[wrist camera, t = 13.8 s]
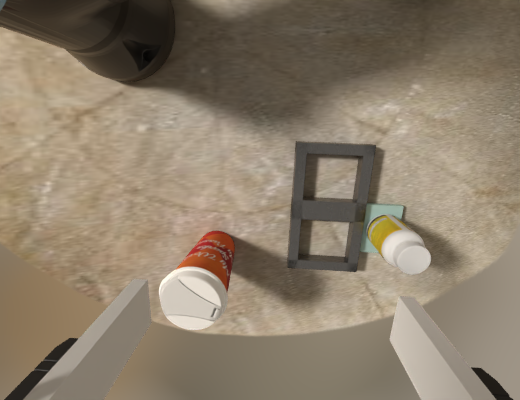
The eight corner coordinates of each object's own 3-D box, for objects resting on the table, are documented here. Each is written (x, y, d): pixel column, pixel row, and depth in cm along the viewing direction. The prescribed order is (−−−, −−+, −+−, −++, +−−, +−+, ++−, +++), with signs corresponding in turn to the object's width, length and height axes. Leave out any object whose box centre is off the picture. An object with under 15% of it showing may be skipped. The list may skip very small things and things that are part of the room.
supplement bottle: (361, 242, 42) (386, 276, 33) (369, 210, 41) (397, 237, 32) (395, 247, 42) (430, 282, 33) (404, 215, 41) (443, 242, 31)
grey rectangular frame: (295, 141, 39) (296, 142, 38) (370, 144, 39) (375, 145, 37) (287, 261, 45) (287, 267, 43) (352, 265, 45) (356, 271, 43)
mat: (365, 203, 41) (367, 204, 41) (401, 204, 41) (403, 206, 40) (358, 249, 44) (359, 251, 43) (392, 251, 43) (394, 253, 43)
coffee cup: (248, 234, 44) (235, 288, 30) (232, 274, 46) (212, 343, 32) (201, 216, 44) (164, 262, 29) (186, 258, 46) (146, 319, 32)
